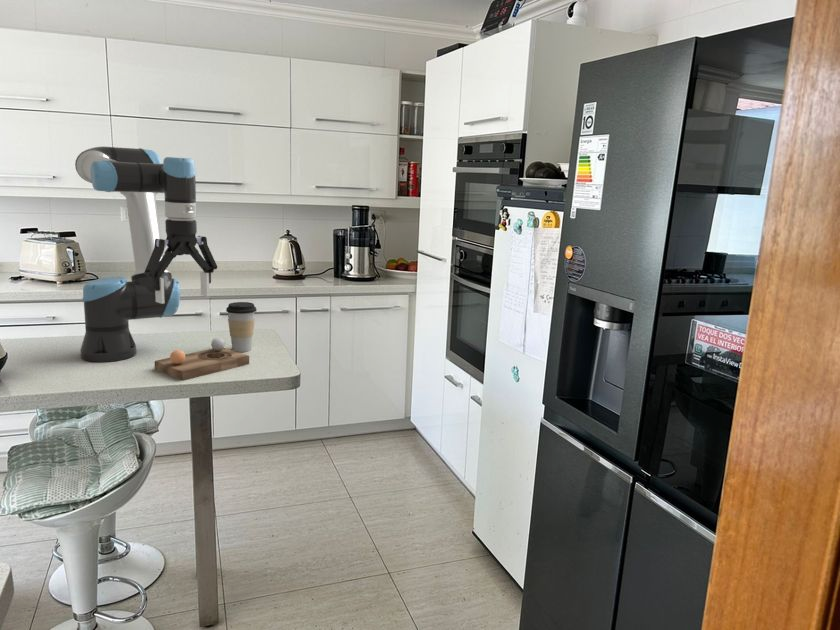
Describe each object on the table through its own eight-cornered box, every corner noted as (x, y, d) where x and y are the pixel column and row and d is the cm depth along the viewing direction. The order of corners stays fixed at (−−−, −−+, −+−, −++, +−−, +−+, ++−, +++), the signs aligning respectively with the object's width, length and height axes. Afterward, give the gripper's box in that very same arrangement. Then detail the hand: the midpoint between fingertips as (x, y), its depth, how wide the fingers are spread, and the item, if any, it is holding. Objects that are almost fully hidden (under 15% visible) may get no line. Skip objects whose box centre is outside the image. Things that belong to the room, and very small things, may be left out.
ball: (167, 363, 172) (166, 350, 171) (180, 361, 175) (179, 347, 174) (175, 366, 170) (175, 352, 169) (188, 363, 173) (188, 350, 172)
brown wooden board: (154, 369, 175) (154, 360, 174) (220, 354, 192) (220, 346, 191) (182, 380, 166) (182, 371, 166) (249, 363, 184) (249, 355, 183)
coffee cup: (226, 354, 192) (225, 307, 189) (227, 346, 201) (226, 301, 198) (257, 353, 195) (256, 307, 192) (256, 345, 204) (256, 301, 201)
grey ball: (208, 350, 187) (208, 337, 186) (220, 347, 190) (219, 335, 189) (216, 352, 184) (216, 340, 184) (227, 350, 188) (227, 337, 187)
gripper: (144, 221, 146) (148, 308, 151) (229, 218, 166) (230, 295, 171) (126, 219, 150) (131, 303, 155) (212, 216, 170) (213, 290, 175)
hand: (183, 299), depth 163 cm, fingers open, 13 cm apart
